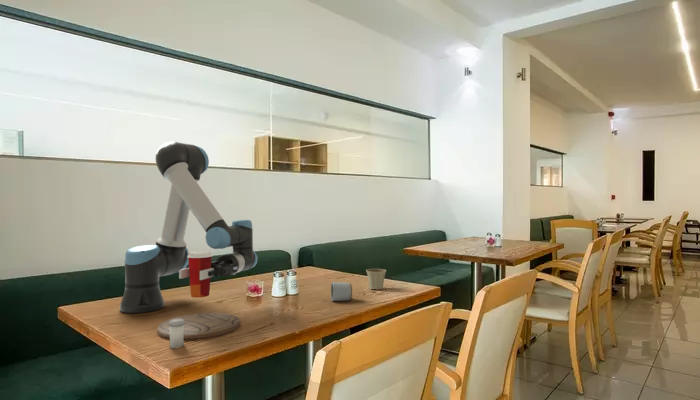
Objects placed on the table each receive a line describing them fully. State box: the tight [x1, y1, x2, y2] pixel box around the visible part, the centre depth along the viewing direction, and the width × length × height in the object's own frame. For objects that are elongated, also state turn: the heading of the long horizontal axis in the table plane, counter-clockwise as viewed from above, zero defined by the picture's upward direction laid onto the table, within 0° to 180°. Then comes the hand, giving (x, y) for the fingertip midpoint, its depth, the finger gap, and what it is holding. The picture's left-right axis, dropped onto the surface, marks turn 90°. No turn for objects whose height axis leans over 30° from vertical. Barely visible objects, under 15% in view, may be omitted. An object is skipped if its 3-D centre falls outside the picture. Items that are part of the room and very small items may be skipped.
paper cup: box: [187, 250, 213, 299], centre depth 138 cm, size 8×8×14 cm
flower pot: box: [365, 268, 387, 290], centre depth 197 cm, size 9×9×9 cm
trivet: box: [157, 312, 241, 341], centre depth 138 cm, size 25×25×2 cm
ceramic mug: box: [330, 281, 353, 302], centre depth 176 cm, size 11×8×8 cm
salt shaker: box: [169, 319, 185, 349], centre depth 120 cm, size 4×4×7 cm
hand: (190, 274), depth 133 cm, fingers closed on paper cup, 7 cm apart
